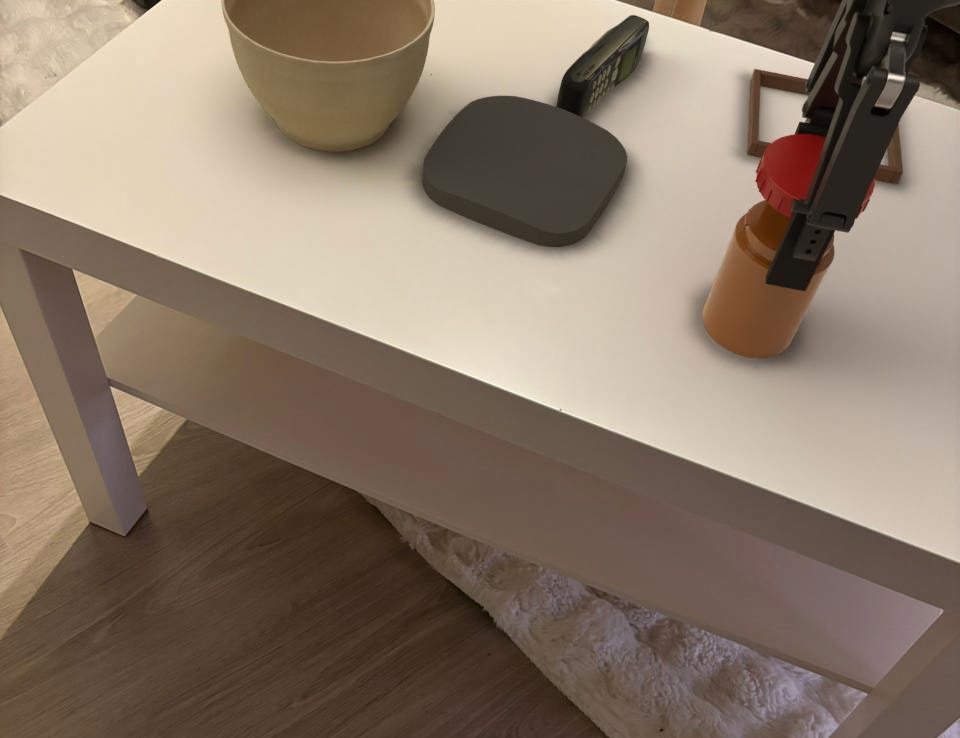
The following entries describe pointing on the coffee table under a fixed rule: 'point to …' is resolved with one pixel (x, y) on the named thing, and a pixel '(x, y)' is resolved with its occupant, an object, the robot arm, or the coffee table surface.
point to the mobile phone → (603, 66)
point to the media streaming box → (525, 169)
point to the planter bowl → (331, 64)
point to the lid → (792, 171)
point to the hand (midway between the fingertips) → (786, 243)
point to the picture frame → (798, 86)
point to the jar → (757, 289)
